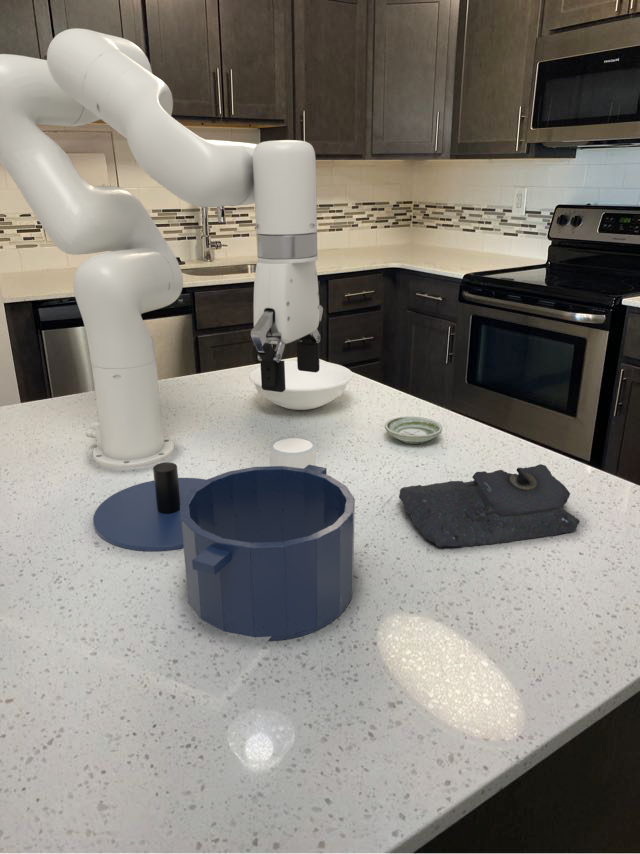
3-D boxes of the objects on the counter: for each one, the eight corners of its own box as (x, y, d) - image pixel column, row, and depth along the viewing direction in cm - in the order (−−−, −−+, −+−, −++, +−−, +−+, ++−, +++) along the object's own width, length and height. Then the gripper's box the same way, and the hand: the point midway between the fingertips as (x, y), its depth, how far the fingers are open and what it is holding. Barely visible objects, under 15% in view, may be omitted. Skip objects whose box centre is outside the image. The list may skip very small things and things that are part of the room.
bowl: (305, 383, 142) (305, 354, 140) (373, 406, 128) (374, 374, 126) (229, 404, 129) (228, 373, 127) (295, 431, 116) (295, 397, 113)
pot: (135, 625, 66) (124, 534, 63) (256, 522, 86) (253, 447, 82) (292, 681, 59) (290, 581, 55) (385, 555, 78) (388, 474, 75)
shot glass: (312, 503, 91) (311, 456, 88) (263, 498, 92) (262, 452, 90) (322, 481, 97) (322, 437, 94) (276, 477, 98) (275, 433, 96)
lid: (61, 533, 83) (52, 482, 81) (158, 475, 99) (154, 430, 97) (184, 570, 75) (179, 514, 73) (268, 501, 91) (267, 453, 89)
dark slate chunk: (386, 497, 92) (387, 465, 91) (527, 479, 97) (530, 449, 96) (430, 554, 78) (432, 518, 77) (592, 530, 84) (597, 496, 82)
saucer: (448, 434, 114) (449, 420, 114) (430, 453, 106) (431, 439, 106) (396, 424, 119) (397, 412, 118) (375, 443, 111) (375, 429, 110)
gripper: (293, 241, 91) (297, 361, 97) (223, 254, 77) (232, 395, 83) (343, 242, 88) (343, 367, 94) (279, 257, 74) (285, 402, 80)
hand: (291, 380), depth 89 cm, fingers open, 9 cm apart
